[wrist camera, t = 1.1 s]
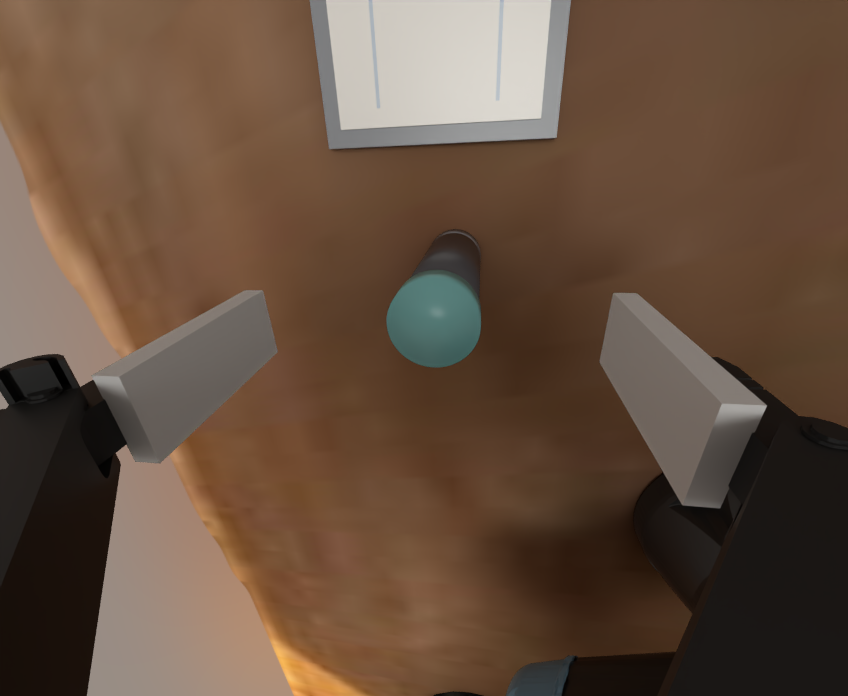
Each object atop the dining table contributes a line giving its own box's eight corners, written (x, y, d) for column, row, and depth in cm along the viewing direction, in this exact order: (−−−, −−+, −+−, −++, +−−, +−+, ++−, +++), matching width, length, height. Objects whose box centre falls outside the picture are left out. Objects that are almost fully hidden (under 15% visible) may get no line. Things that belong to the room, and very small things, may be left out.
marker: (481, 281, 27) (479, 369, 15) (429, 281, 28) (390, 365, 16) (482, 227, 25) (482, 279, 14) (427, 228, 26) (382, 279, 14)
